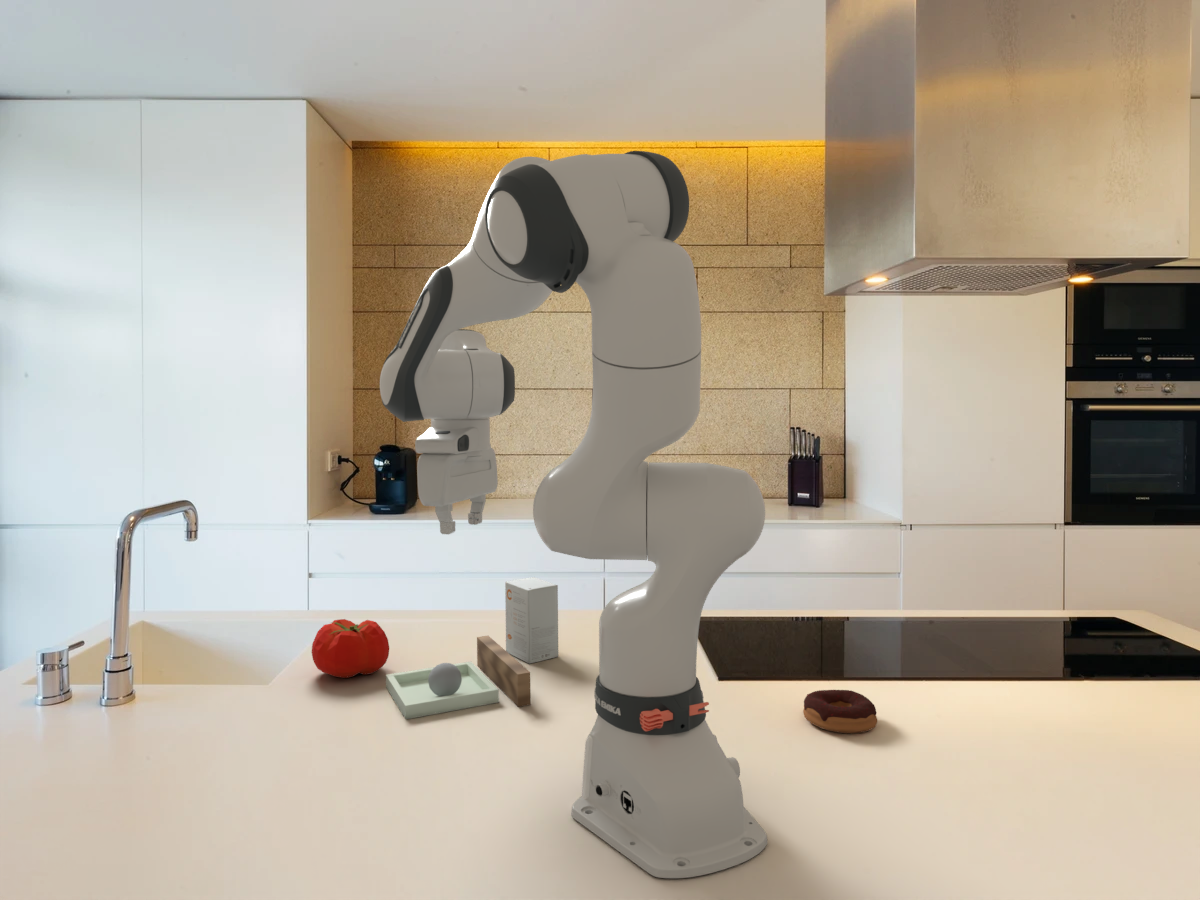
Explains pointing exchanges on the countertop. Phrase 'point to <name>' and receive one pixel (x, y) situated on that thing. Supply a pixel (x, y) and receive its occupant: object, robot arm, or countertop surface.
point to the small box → (531, 619)
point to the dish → (421, 701)
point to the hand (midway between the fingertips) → (462, 528)
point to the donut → (840, 711)
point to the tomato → (350, 648)
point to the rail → (504, 670)
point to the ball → (444, 679)
